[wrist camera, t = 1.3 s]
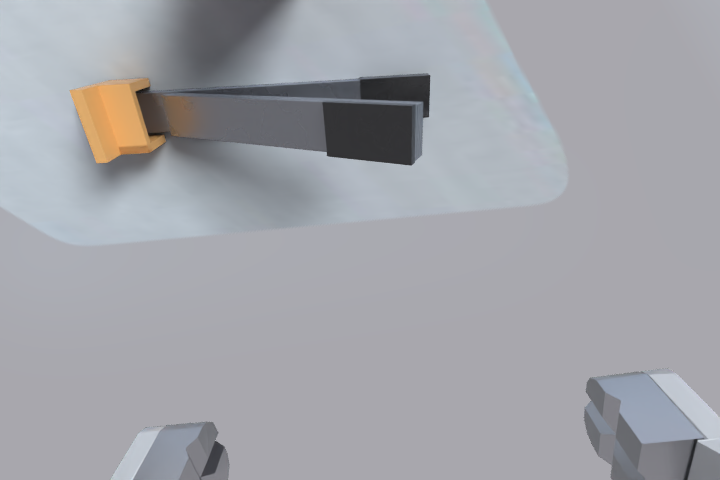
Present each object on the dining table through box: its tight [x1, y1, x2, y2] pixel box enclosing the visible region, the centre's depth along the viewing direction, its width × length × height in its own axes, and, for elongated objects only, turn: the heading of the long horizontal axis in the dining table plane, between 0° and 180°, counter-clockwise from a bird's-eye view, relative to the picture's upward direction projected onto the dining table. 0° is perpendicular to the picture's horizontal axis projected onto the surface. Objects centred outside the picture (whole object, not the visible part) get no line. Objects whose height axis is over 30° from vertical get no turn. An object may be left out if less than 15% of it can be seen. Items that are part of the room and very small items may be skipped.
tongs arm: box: [160, 93, 423, 165], centre depth 27 cm, size 20×3×2 cm
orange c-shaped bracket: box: [70, 78, 166, 163], centre depth 30 cm, size 3×5×5 cm, turn 3°
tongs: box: [135, 74, 430, 133], centre depth 32 cm, size 28×3×1 cm, turn 93°
